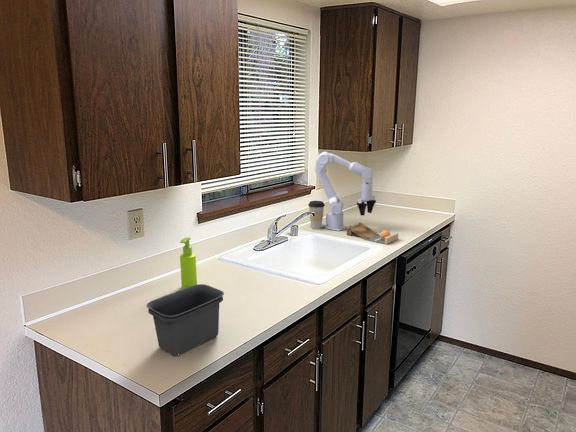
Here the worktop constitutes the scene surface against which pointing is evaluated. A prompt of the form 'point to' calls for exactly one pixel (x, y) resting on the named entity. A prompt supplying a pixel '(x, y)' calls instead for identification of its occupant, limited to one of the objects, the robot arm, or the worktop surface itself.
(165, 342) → the storage bin
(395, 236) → the mat
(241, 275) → the worktop surface
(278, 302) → the worktop surface
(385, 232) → the ball
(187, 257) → the soap dispenser
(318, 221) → the coffee cup
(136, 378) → the worktop surface
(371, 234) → the ramp
